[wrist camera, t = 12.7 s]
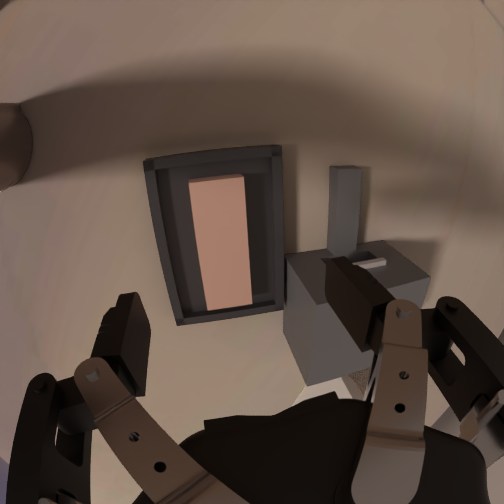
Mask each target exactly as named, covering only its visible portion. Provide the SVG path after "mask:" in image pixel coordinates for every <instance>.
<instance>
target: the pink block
mask: <svg viewBox="0 0 504 504" xmlns="http://www.w3.org/2000/svg"><path fill="white" fill-rule="evenodd" d="M189 190H190V198H191V206H192V214H193V221H194V229H195V236H196V242H197V249H198V256H199V262H200V268H201V275H202V281H203V287H204V292H205V298H206V304H207V309H208V310H215V309H222V308H229V307H236V306H242V305H248V304H252V292H251V277H250V262H249V247H248V232H247V217H246V202H245V186H244V177H243V176H242V175H241V174H231V175H221V176H212V177H204V178H196V179H189Z"/></svg>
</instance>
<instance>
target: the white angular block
mask: <svg viewBox="0 0 504 504" xmlns="http://www.w3.org/2000/svg"><path fill="white" fill-rule="evenodd" d="M332 391H335V392H336V394H337V396H338V398H339V399H342V398H350V399H359V400H363V397H364V396H363V394H362V392H361V391H360V389H359V387H358V386H357V384H356V383H355V382H354V381H353V380H352V379H351V378H350V377H349V376H348V375H346V376H343V377H340V378H336V379H333V380H330V381H326V382H323V383H319V384H315V385H312V386H308V387H307V386H305V387H304V389H303V390H302V392H301V393H300V395H299V396H298V398H297V399H296V401H295V402H294V404H293V405H292V406H294V405H296V404H298V403H300V402H301V401H303V400H306V399H309V398H313V397H316V396H320V395H323V394H326V393H329V392H332ZM292 406H291V407H292Z"/></svg>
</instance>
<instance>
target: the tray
mask: <svg viewBox="0 0 504 504" xmlns="http://www.w3.org/2000/svg"><path fill="white" fill-rule="evenodd" d="M143 166H144V173H145V180H146V187H147V193H148V199H149V205H150V211H151V216H152V222H153V227H154V232H155V237H156V242H157V247H158V251H159V256H160V261H161V265H162V269H163V274H164V278H165V282H166V286H167V290H168V294H169V298H170V302H171V306H172V310H173V313H174V317H175V321H176V324H177V326H180V325H188V324H196V323H204V322H211V321H218V320H225V319H231V318H238V317H244V316H250V315H256V314H262V313H268V312H273V311H279V310H284V215H283V174H282V146H280V145H261V146H246V147H234V148H223V149H213V150H204V151H196V152H188V153H181V154H174V155H168V156H161V157H155V158H149V159H145V160H144V161H143ZM231 174H241V175H242V176H243V177H244V186H245V202H246V217H247V232H248V247H249V262H250V277H251V292H252V304H248V305H242V306H236V307H229V308H222V309H215V310H208V309H207V304H206V298H205V292H204V287H203V281H202V275H201V268H200V262H199V256H198V249H197V242H196V236H195V229H194V221H193V214H192V206H191V198H190V190H189V179H196V178H204V177H212V176H221V175H231Z"/></svg>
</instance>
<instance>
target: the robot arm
mask: <svg viewBox="0 0 504 504" xmlns="http://www.w3.org/2000/svg"><path fill="white" fill-rule="evenodd" d="M31 152H32V135H31V130H30V126H29V124H28V122H27V120H26V118H25V117H24V116H23V115H22V113H21V112H20V105H19V103H0V192H1V191H3V190H5V189H7V188H9V187H11V186H12V185H14V184H16V183H17V182H18V181H19V180H20V179H21V178H22V176H23V175H24V173H25V171H26V169H27V167H28V164H29V161H30V158H31ZM325 296H326V300H327V302H328V304H329V305H330V306H331V308H332V309H333V311H334V312H335V314H336V315H337V317H338V318H339V320H340V321H341V322H342V324H343V325H344V327H345V328H346V330H347V331H348V333H349V334H350V336H351V337H352V339H353V340H354V342H355V343H356V345H357V346H358V348H359V349H360V351H361V352H362V353H363V352H366V351H368V350H371V349H372V350H373V352H374V355H373V358H372V363H371V367H370V372H369V377H368V381H367V386H366V390H365V394H364V397H363V400H359V399H350V398H342V399H339V398H338V396H337V394H336V392H335V391H332V392H329V393H326V394H323V395H320V396H316V397H313V398H309V399H306V400H303V401H301V402H300V403H298V404H296V405H294V406H292V407H290V408H288V409H286V410H284V411H282V412H280V413H278V414H276V415H272V416H245V415H235V416H230V417H223V418H217V419H210V420H204V428H205V429H204V430H201V431H199V432H197V433H195V434H193V435H191V436H189V437H188V438H186V439H185V440H184V441H182V442H181V443H180V444H179V445H178V444H177V443H176V442H175V441H174V440H173V439H172V438H171V437H170V436H169V435H168V434H167V433H166V432H165V431H164V430H163V429H162V428H161V427H160V426H159V425H158V424H157V422H156V421H155V420H154V419H153V418H152V417H151V416H150V415H149V414H148V412H147V411H146V410H145V409H144V408H143V407H142V405H141V404H140V403H139V402H138V401H137V400H136V398H135V397H140V396H145V390H146V377H147V366H148V356H149V346H150V338H151V329H150V324H149V320H148V318H147V315H146V312H145V310H144V307H143V304H142V302H141V299H140V296H139V294H138V293H137V292H132V293H126V294H120V295H119V297H118V300H117V303H116V306H115V307H112V308H110V309H109V310H108V311H107V313H106V314H105V315H104V316H103V319H102V322H101V327H100V328H99V331H98V333H99V334H97V337H96V341H95V344H94V347H93V350H92V354H91V357H90V358H89V359H86V360H85V361H83V362H82V363H80V364H79V365H78V367H77V368H76V370H75V373H74V376H73V377H70V378H67V379H63V380H60V381H56V379H55V378H54V377H53V376H52V375H51V374H49V373H41V374H39V375H37V376H35V377H34V378H33V379H32V380H31V381H30V383H29V385H28V387H27V390H26V393H25V397H24V400H23V404H22V407H21V411H20V415H19V419H18V423H17V427H16V432H15V436H14V441H13V446H12V452H11V458H10V465H9V473H8V481H7V493H6V504H91V498H90V463H91V442H92V430H94V429H99V431H100V433H101V434H102V436H103V437H104V439H105V440H106V442H107V443H108V445H109V446H110V448H111V449H112V451H113V452H114V454H115V455H116V456H117V458H118V459H119V460H120V462H121V463H122V465H123V466H124V467H125V468H126V470H127V471H128V472H129V474H130V475H131V476H132V477H133V479H134V480H135V481H136V482H137V484H138V485H139V486H140V487H141V488H142V490H143V491H142V492H141V493H140V495H139V496H138V497H137V498H136V500H135V501H134V502H133V503H132V504H490V501H489V496H488V490H487V470H486V469H487V468H488V467H489V466H490V465H492V464H493V463H494V462H495V461H497V460H498V459H500V457H502V456H503V455H504V345H503V344H502V343H501V342H500V341H499V340H498V339H497V337H496V336H495V335H494V334H493V333H492V332H491V331H490V330H489V329H488V328H487V327H486V326H485V325H484V324H483V322H482V321H481V320H480V319H479V318H478V317H477V316H476V315H475V314H474V313H473V312H472V311H471V310H470V309H469V308H468V307H467V306H466V305H465V304H464V303H463V302H461V301H460V300H459V299H457V298H454V297H450V296H445V297H441V298H440V299H438V301H437V304H436V307H435V308H432V309H420V308H419V307H418V306H417V305H416V304H415V303H413V302H411V301H409V300H405V299H396V298H395V297H394V296H393V295H392V294H391V293H390V292H389V291H388V290H387V289H386V288H385V287H384V286H383V285H382V284H381V283H379V282H378V280H377V279H376V278H375V277H374V278H373V275H372V274H371V273H370V272H369V271H368V270H367V269H364V268H362V267H360V266H358V265H353V264H352V263H351V262H350V261H349V260H348V259H347V258H346V257H345V256H341V257H336V258H331V259H328V260H327V262H326V275H325ZM453 342H454V343H455V344H456V346H457V347H458V348H459V349H460V350H461V352H462V353H463V354H464V356H465V366H464V365H463V364H462V363H461V361H460V360H459V359H458V358H457V356H456V355H455V354H454V353H453V351H452V350H451V347H452V344H453ZM428 373H429V375H430V376H431V377H432V379H433V380H434V382H435V383H436V385H437V386H438V388H439V389H440V391H441V393H442V394H443V396H444V397H445V399H446V400H447V402H448V403H449V405H450V406H451V408H452V410H453V411H454V413H455V414H456V416H457V418H458V419H459V421H460V435H459V437H456V436H453V435H450V434H447V433H444V432H441V431H439V430H436V429H433V428H431V427H428V426H425V425H424V422H425V412H426V400H427V381H428ZM57 427H58V433H57V440H56V446H55V435H56V429H57Z"/></svg>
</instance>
